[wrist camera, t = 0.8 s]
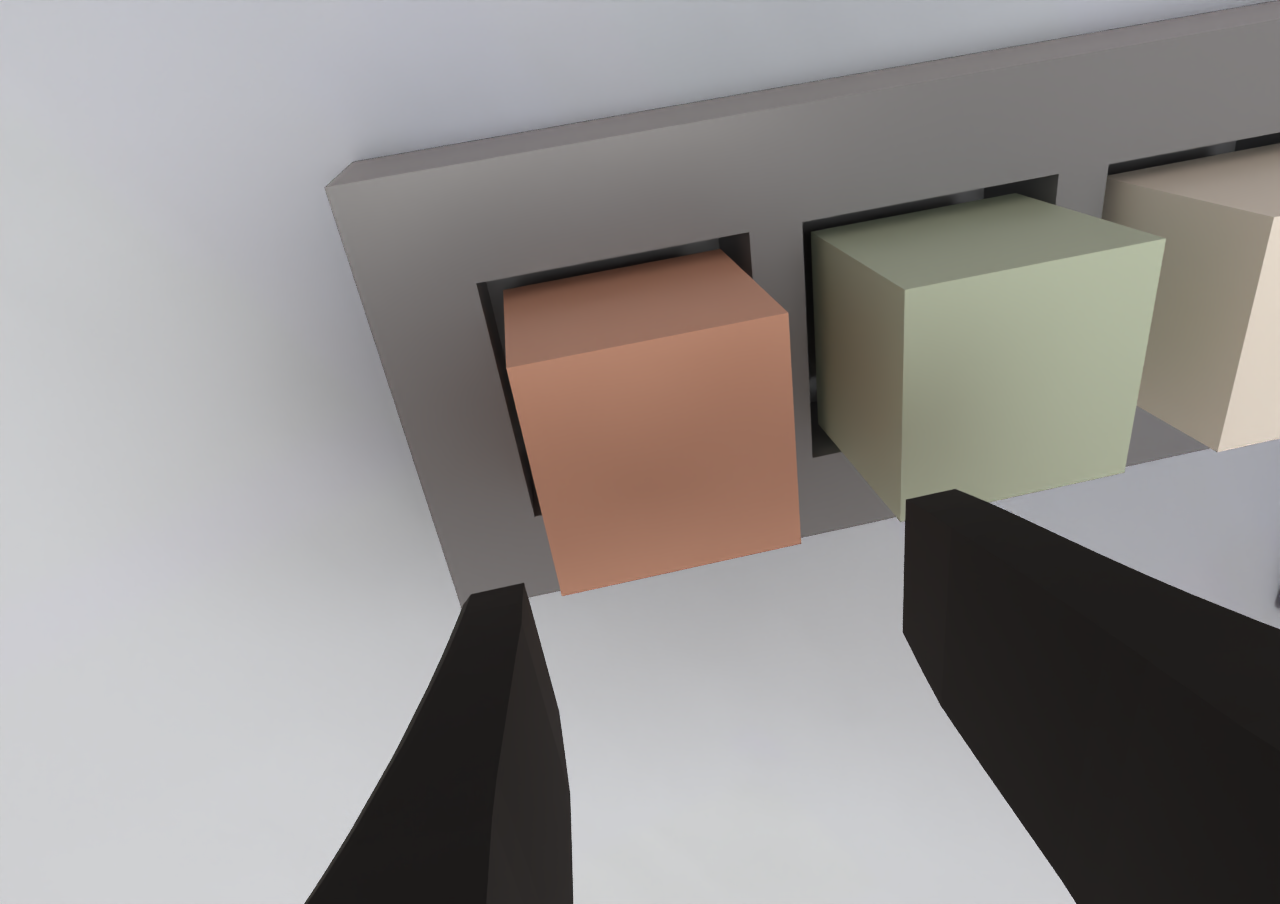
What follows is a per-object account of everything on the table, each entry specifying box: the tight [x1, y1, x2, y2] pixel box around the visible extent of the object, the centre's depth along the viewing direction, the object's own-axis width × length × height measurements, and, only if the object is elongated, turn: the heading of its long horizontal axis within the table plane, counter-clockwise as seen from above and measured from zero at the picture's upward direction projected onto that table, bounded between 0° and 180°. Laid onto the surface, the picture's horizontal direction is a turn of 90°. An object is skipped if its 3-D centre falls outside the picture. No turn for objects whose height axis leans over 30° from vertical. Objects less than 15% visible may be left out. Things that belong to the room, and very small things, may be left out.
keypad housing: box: [325, 0, 1280, 608], centre depth 17 cm, size 21×9×3 cm, turn 98°
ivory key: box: [1101, 143, 1280, 452], centre depth 15 cm, size 4×4×4 cm
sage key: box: [811, 193, 1166, 522], centre depth 15 cm, size 4×4×4 cm
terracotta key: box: [503, 249, 801, 596], centre depth 14 cm, size 4×4×4 cm
